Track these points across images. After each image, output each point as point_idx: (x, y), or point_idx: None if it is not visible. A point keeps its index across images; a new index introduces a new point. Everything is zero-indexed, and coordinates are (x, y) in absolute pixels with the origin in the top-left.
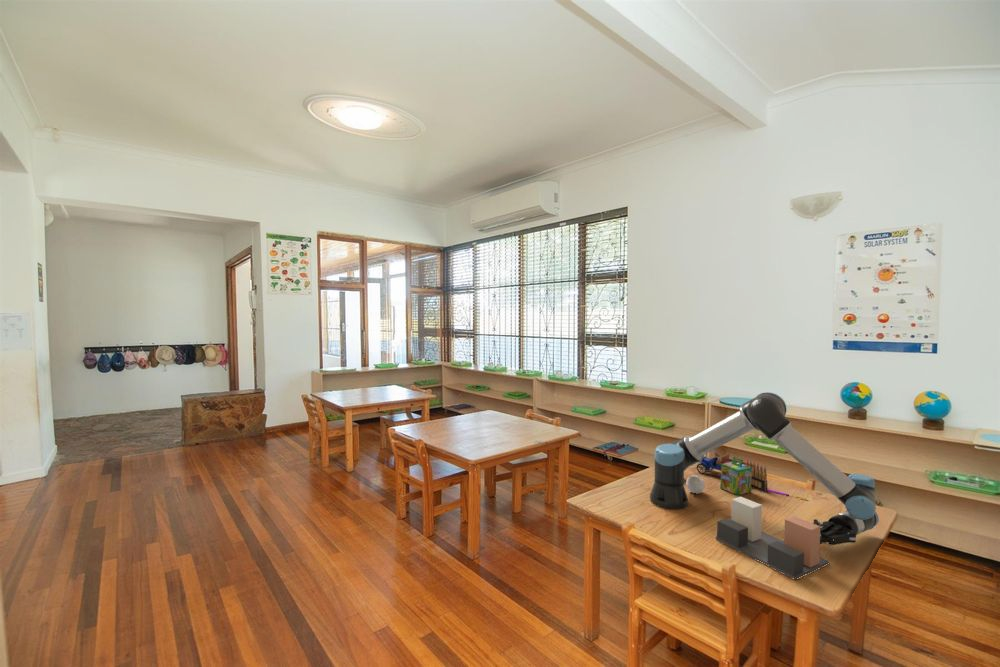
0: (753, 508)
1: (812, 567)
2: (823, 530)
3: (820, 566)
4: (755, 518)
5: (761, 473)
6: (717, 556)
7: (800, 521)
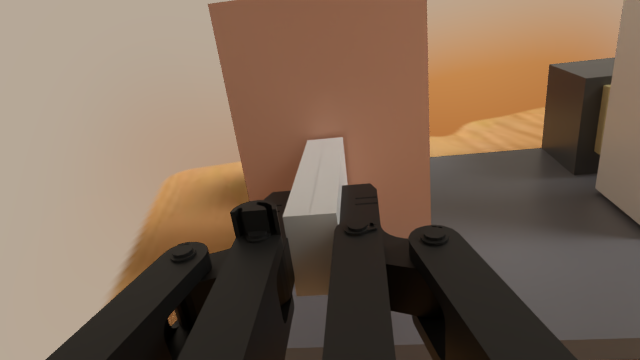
0: None
1: None
2: (325, 353)
3: None
4: (635, 45)
5: None
6: (514, 124)
7: None
